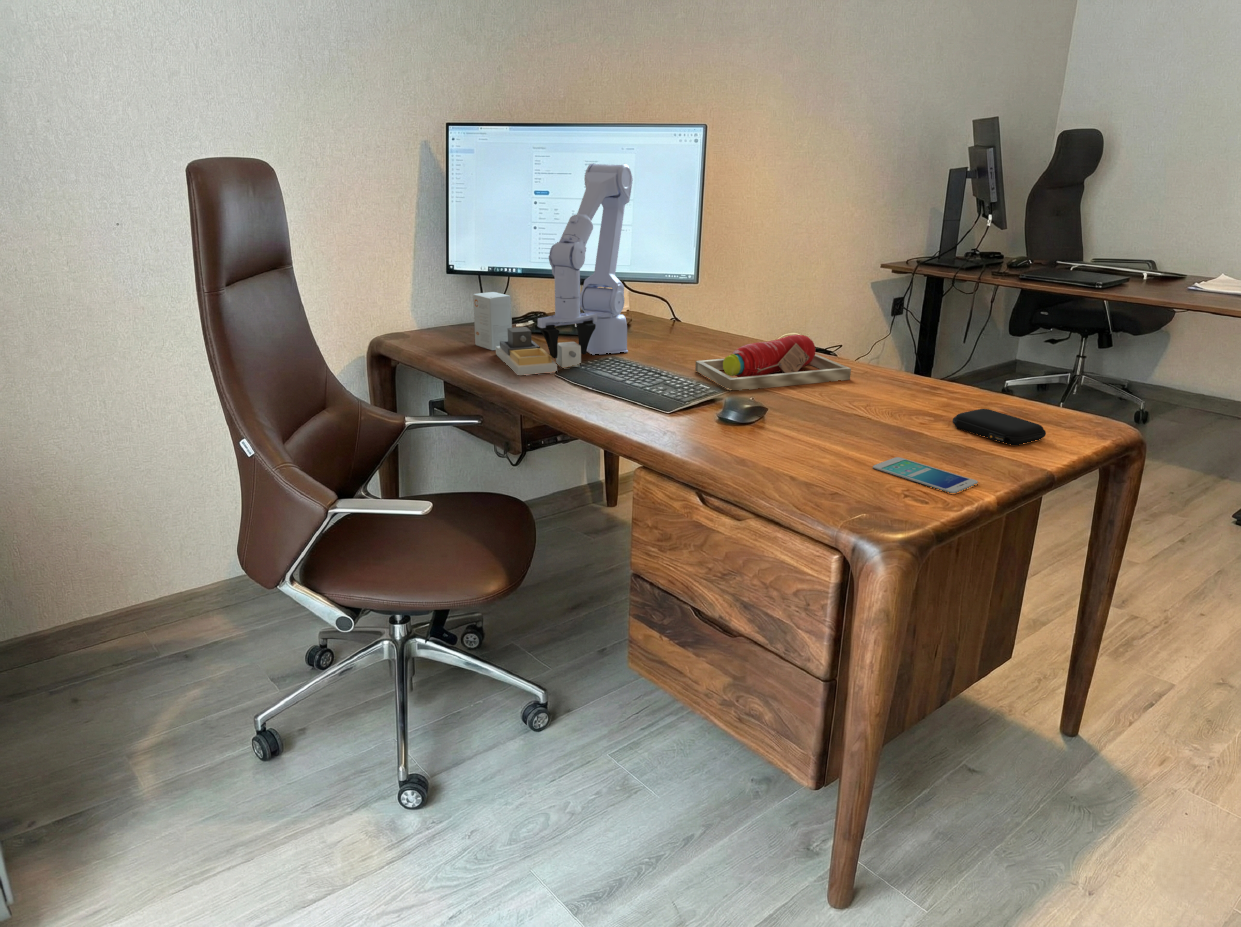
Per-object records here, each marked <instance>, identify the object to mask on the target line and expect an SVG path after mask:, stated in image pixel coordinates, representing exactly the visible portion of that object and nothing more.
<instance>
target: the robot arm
mask: <svg viewBox="0 0 1241 927" xmlns="http://www.w3.org/2000/svg"><path fill="white" fill-rule="evenodd" d="M633 180H634V178H633V174H632V171H631V169H630V167H629V164H625V163H623V164H610V163H607V164H605V163H594V162H591V163H589V165H588V166H587V167H586V170H585V174H584V185H585V186H584V187H585V190H584V193H583V196H582V199H581V202H580V204H579V207H578V210H577V212H576V214H574V215H573V214H572V215H571V216H570V217H569V219H568V222H567V223H566V226H565V227H564V230H563V232H562V235H561V236H560V239H559V241H557V242H555V243H554V244H553V245H552V246H551V248H550V250H549V255H548V262H549V265H550V267H551V274H552V277H553V276H554V312H555V313H554V314H553V315H549V316H544V317H539V318H537V328H539V331H540V332H541V334H542V336H543V338H544V340H545V342H546V345H547V348H548V353H549V354H550V355H551V356H552V359H556V358H557V355H558V349H557V343H559V342H558V341H559V337H560V336H559V335H560V330H559V329H557V327H559V326H567V325H576V329H577V330H576V331H577V335H578V336H577V337H578V338H577V339H578V344H579V345H580V346H581V355H587V353H589V355H591V354H592V355H591V356H596V355H595V354H599V355H610V354H609V353H611V354H620V352H624V353H629V350H628V325H627V324H628V323H627V319H626V316H625V315H624V314H621V313H622V311H623V310H624V307H625V285H624V284H623V283H622V281H621V280H620V279H619V278H618V277H617V276H616V271H617V264H618V258H619V251H620V244H621V243H620V242H621V237H622V236H621V235H622V230H623V221H624V214H625V207H626V205H627V204H628V203H630V200H631V194H632V188H633ZM600 206H602V215H601V223H600V229H599V236H598V244H597V249H596V255H595V256H596V257H595V264H594V270H593V271H594V272H593V273H592V274H591V275H589V276H588V277H587V278H585V279H584V280H583V286H582V289H581V268H583V266H584V264H585V260H586V252H587V243H588V242H589V239H590V236H591V234H592V232H593V230H594V224H593V222H592V221H593V218H594V216H595V215H596V213H597V212H598V210H599V207H600ZM581 310H582V311H583V312H581ZM606 353H608V354H606Z"/></svg>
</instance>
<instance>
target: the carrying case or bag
mask: <svg viewBox="0 0 1241 927" xmlns="http://www.w3.org/2000/svg"><path fill="white" fill-rule="evenodd" d="M952 423H953V425H955V426H954V427H955V428H956V427H957V429H958V428H959V429H958V430H961V429H962V430H961V431H964V430H965V432H967V431H968V433H970V432H971V434H973V433H974V434H973V435H976V434H978V435H977V436H979V435H981V436H980V437H982V436H985V437H988V438H989V439H988V438H987V439H988V440H991V441H994V440H997V441H1000V442H1004V443H1007V444H1011V445H1018V446H1020V445H1019V444H1023V443H1027V442H1031V441H1035V440H1039V439H1041V438H1042V439H1043V438H1045V437H1046V435H1047V432H1046V430H1045V429H1044V426H1042V425H1041V424H1040V423H1036V422H1033V421H1030V420H1029V421H1028V420H1026V419H1023V418H1020V417H1016V416H1013V415H1010V414H1006V413H1002V412H1000V411H996V410H992V409H989V408H980V409H975V410H969V411H963V412H960V413H958V414H956V416H954V417H953V418H952ZM985 437H984V438H985ZM1042 439H1041V440H1042ZM997 441H996V442H997ZM1039 441H1040V440H1039ZM1000 442H999V443H1000ZM1035 442H1036V441H1035ZM1031 443H1032V442H1031ZM1027 444H1028V443H1027ZM1023 445H1024V444H1023Z"/></svg>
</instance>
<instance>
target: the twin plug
mask: <svg viewBox="0 0 1241 927" xmlns="http://www.w3.org/2000/svg"><path fill="white" fill-rule="evenodd" d="M507 329H508V346H509V347H510V348H520V347H532V341H533V340H532V330H530V328H528V327H527V326H522V327H521V326H520V327H518V326H517V327H512V328H507Z"/></svg>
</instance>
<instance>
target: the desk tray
mask: <svg viewBox="0 0 1241 927" xmlns="http://www.w3.org/2000/svg"><path fill="white" fill-rule="evenodd" d="M724 359H725V358H717V359H716V358H715V359H706V360H705V359H703V360H695V367H694V368H695V369H694V370H695V371H697V372H699V373H701V374H702V375H704V376H706V377H708V378H710V379H711V380H713V381H715V382H716V383H718V384H720V385H722V386H724V387H726V388H729V389H732V390H739V391H743V390H742V389H749V390H757V389H758V388H760V389H768V388H778V387H787V386H799V385H808V384H818V383H827V382H828V383H829V381H831V382H839V381H838V380H841V381H850V380H851V374H852V373H851V372H852V368H851V367H848V366H846V365H843V364H842V363H839V362H836V361H834V360H831V359H828V358H826V357H824V356H821V355H819V354H817V353H815V356H814V358H813V360H812V361H811V362H810V363H809V364H808V365H810V366H812V367H814V368H816V369H815V370H805V371H804V370H803V371H797V372H792V373H783V372H782V373H771V374H768V375H760V376H749V377H733V376H729V375H727V374H726V373H725V372H724V371H719V370H724V369H723V361H724ZM695 371H694V372H695ZM702 375H701V376H702ZM711 380H710V381H711ZM716 383H715V384H716ZM718 384H717V385H718Z"/></svg>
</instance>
